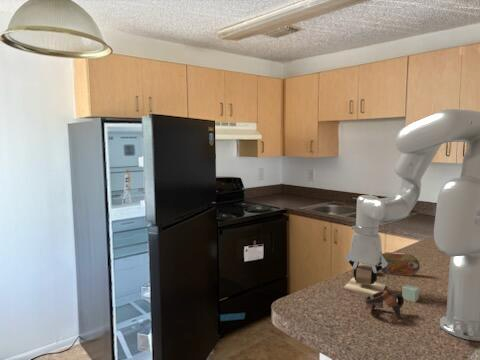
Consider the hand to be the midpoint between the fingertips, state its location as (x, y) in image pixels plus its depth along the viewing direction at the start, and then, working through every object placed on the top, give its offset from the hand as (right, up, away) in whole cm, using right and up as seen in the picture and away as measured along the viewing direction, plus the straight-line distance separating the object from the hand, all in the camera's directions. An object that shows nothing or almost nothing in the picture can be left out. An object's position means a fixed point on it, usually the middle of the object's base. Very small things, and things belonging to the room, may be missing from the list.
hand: (364, 280), depth 130 cm
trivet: (0, -3, 0) cm, 3 cm away
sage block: (+12, -4, -9) cm, 15 cm away
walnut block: (0, -1, 0) cm, 1 cm away
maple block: (+6, -1, +15) cm, 17 cm away
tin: (+18, -2, +15) cm, 23 cm away
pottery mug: (-1, -5, -20) cm, 21 cm away
